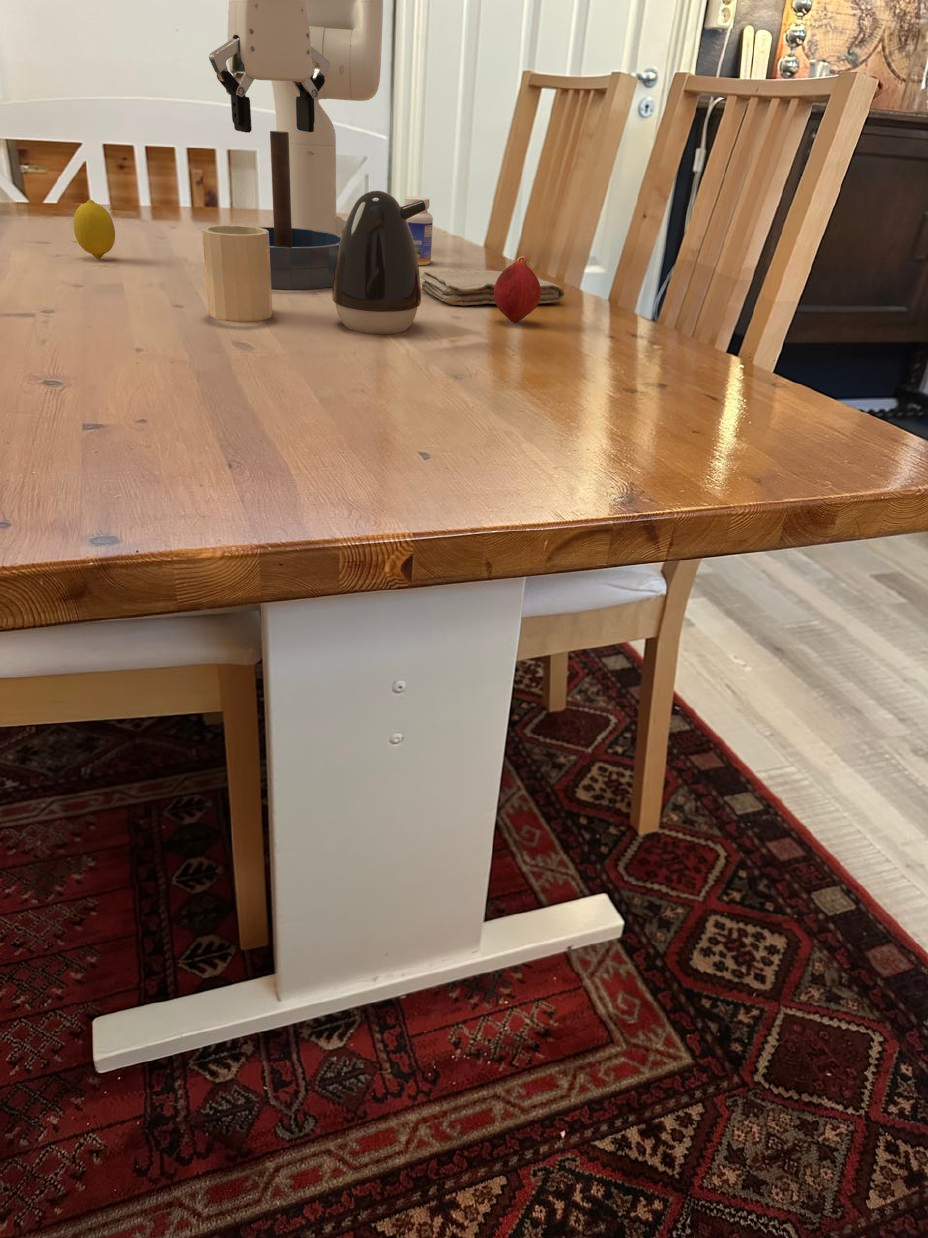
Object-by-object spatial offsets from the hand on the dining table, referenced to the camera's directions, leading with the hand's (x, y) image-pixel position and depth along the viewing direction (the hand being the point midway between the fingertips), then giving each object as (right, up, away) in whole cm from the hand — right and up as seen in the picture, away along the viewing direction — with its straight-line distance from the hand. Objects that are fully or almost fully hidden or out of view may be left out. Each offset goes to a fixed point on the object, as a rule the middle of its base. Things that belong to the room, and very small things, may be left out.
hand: (274, 131), depth 119 cm
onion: (+32, -27, -5) cm, 42 cm away
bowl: (0, -17, +7) cm, 19 cm away
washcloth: (+29, -19, +8) cm, 36 cm away
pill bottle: (+17, -7, +27) cm, 33 cm away
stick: (0, -17, +7) cm, 18 cm away
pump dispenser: (+15, -31, -14) cm, 38 cm away
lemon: (-29, -12, +13) cm, 34 cm away
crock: (-1, -30, -13) cm, 33 cm away
